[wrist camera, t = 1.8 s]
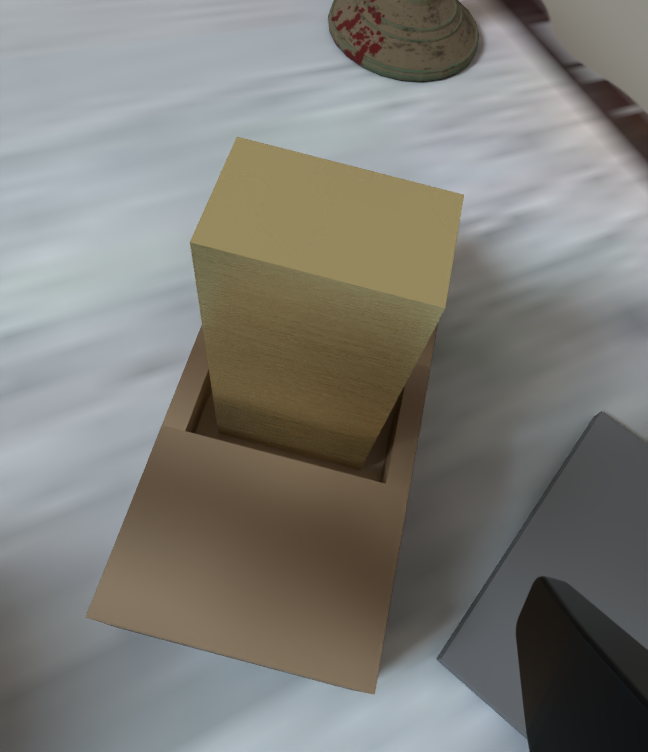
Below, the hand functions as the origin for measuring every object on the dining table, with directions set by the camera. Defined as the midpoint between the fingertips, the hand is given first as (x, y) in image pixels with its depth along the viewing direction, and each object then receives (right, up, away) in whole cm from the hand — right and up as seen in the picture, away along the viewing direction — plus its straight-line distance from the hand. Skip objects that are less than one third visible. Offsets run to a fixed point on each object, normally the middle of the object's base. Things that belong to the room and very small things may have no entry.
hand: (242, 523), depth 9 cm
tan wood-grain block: (0, +1, +12) cm, 12 cm away
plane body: (0, 0, +14) cm, 14 cm away
